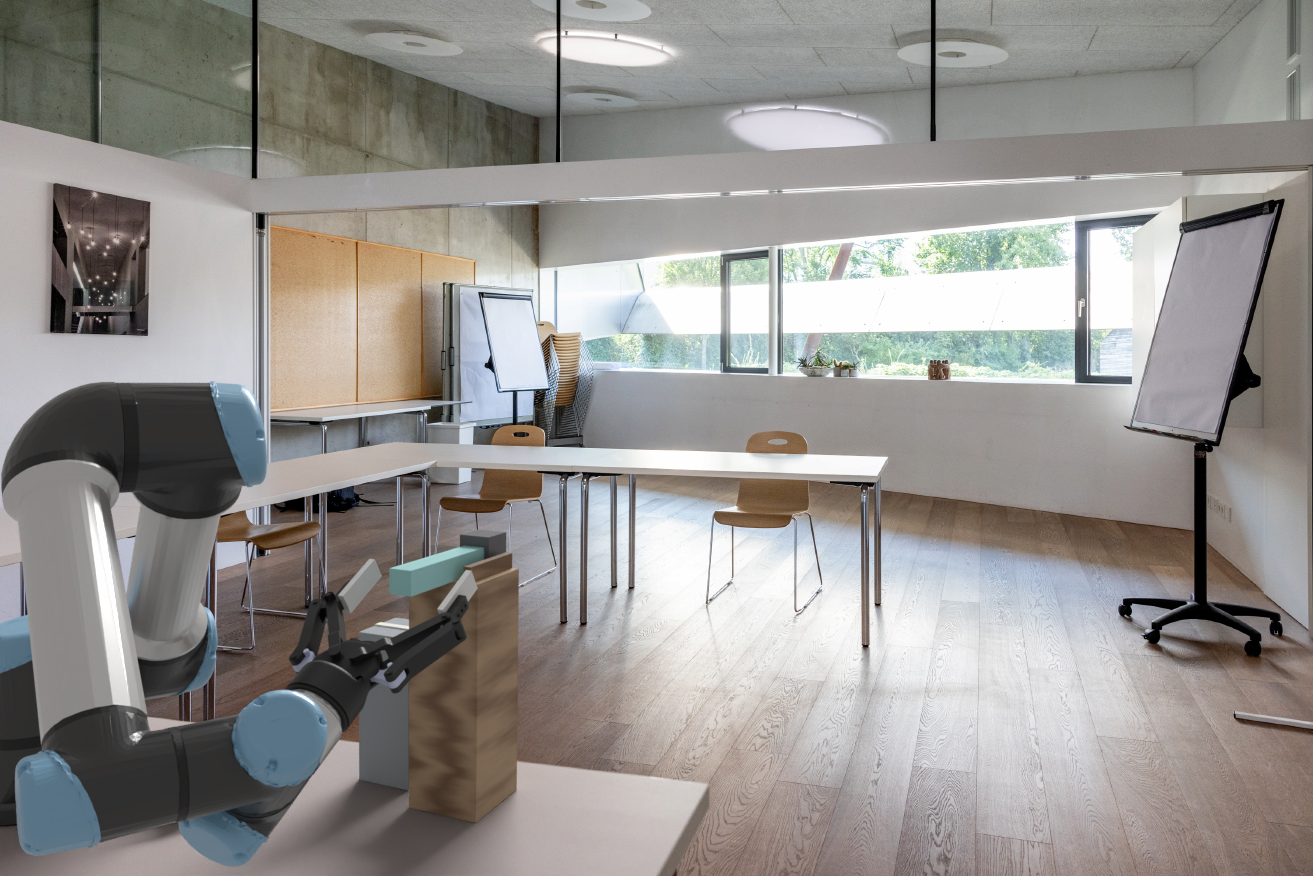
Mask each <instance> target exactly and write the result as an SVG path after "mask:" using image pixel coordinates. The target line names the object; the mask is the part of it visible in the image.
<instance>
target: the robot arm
mask: <svg viewBox="0 0 1313 876" xmlns="http://www.w3.org/2000/svg"><path fill="white" fill-rule="evenodd" d="M266 440H267V439H266V434H265V426H264V421H263V417H262V412H261V409H260V406H259V403H258V400H257V397H256V396H255V393H253V390H252V389H250V388H249V387H247V386H245V385H242V384H239V383H225V382H223V383H222V382H216V381H215V380H214V381H213V380H212V381H209V382H115V381H101V382H89V383H87V384H82V385H81V384H80V385H79V386H76V387H74V388H70V389H68V390H65V391H63V392H61V393H59V394H58V395H56V396H54V397H52V398H51V399H50V400H48V401H47V402H46V403H44V404H43V405H42V406H40V407H39V408H38V409H37V410H36V411H35V412H34V413H33V414H32V415H31V416H30V417H29V418H28V419H26V421H25V422H24V423H23V425H22V426H21V427H20V429H19V430H18V432H17V433H16V434H15V436H14V438H13V440H12V442H11V443H10V444H9V447H8V449H7V452H6V455H5V456H4V457H5V458H4V461H3V463H2V468H1V473H0V476H1V477H0V479H1V481H0V485H1V489H0V490H1V497H2V498H1V500H2V505H3V509H4V510H5V512H6V514H7V515H8V516H9V517H10V518H11V519H13V520H14V521H16V522H17V526H18V527H17V528H18V535H19V544H20V554H21V564H22V574H23V583H24V584H23V585H24V591H25V603H26V611H27V612H26V613H27V614H25V615H21V616H18V617H15V618H11V619H8V620H6V621H3V622H1V623H0V826H9V825H16V829H17V834H18V842H19V845H20V846H19V847H20V848H21V849H22V851H24V853H26V854H27V855H29V856H30V855H31V856H34V857H35V856H37V857H38V856H45V855H51V854H57V853H62V852H68V851H74V850H78V849H79V850H80V849H85V848H93V847H97V846H98V845H99V844H100V843H104V842H107V841H111V840H112V841H113V840H114V839H119V838H123V837H126V836H129V835H130V836H131V835H133V834H137V833H141V832H143V831H144V832H145V831H148V830H152V829H156V828H159V827H164V826H166V825H172V824H177V823H178V830H179V833H180V834H181V836H182V837H183V839H184V840H185V841H186V842H187V844H188V845H189V846H190V847H191V848H192V849H194V850H195V851H196V852H197V853H199V855H201V856H203V857H205V858H207V859H208V860H209V861H212V862H213V863H216V864H219V865H221V866H224V867H231V868H237V867H241V866H243V865H246V864H247V863H248V862H249V861H251V859H252V858H253V857H254V855H255V854H256V853H257V852H258V851H259V849H260V848H261V847H262V845H264V843H267V842H268V839H269V838H270V835H271V834H272V832H273V831H274V830H275V829H276V827H277V825H278V824H279V823H280V822H281V820H282V818H283V817H284V816H285V815H286V814H287V812H288V811H289V809H290V808H291V806H292V805H293V804H294V802H295V801H296V799H297V798H298V796H299V795H300V794H301V793H302V791H303V790H304V788H305V787H306V786H307V784H308V783H309V781H310V779H311V778H312V776H314V775H315V773H316V772H317V770H318V769H319V768H320V767H321V765H322V764H323V762H324V761H325V760H326V758H327V757H328V756H329V754H330V753H331V752H332V750H333V749H334V748H335V746H336V745H337V743H338V742H339V741H340V740H341V737H342V735H343V733H344V732H346V731H347V730H348V729H349V728H350V726H351V725H352V724H353V722H354V721H355V719H356V718H357V717H358V716H359V713H360V711H361V710H362V709H363V707H364V705H365V702H366V698H367V695H368V693H369V691H370V690H371V689H372V688H374V687H375V686H376V685H378V684H383V685H386V686H389V688H390V690H391V692H392V693H398V692H400V691H401V690H402V689H403V688H404V687H405V685H406V684H407V683H408V682H409V681H410V680H411V678H413V677H414V676H416V675H417V674H418V673H420V672H421V671H423V670H424V669H425V668H427V667H428V666H430V665H431V664H432V663H434V662H435V661H437V660H438V659H439V658H441V657H442V656H443V655H445V654H446V653H448V652H449V651H450V650H452V649H453V648H455V647H456V646H457V645H459V644H460V643H462V642H463V641H464V640H465V639H466V638H467V635H466V632H465V629H464V627H463V624H462V622H461V618H462V617H463V615H464V614H465V613H466V611H467V610H468V608H469V603H468V601H469V600H470V598H471V597H472V596H473V594H474V593H475V591H476V590H477V589H478V587H477V585H476V582H475V579H474V576H473V573H472V571H470V570H466V571H465V572H464V573H463V575H462V576H461V577H460V579H459V580H458V581H457V583H456V584H455V586H454V587H453V588H452V590H451V591H450V592H449V594H448V595H447V596H446V598H445V599H444V601H443V602H442V603H441V605H440V606H439V607H438V609H437V610H438V613H439V615H437V616H435V617H433V618H431V619H429V620H427V621H425V622H423V623H421V624H419V625H417V626H415V627H413V628H411V629H409V630H407V631H405V632H403V633H401V634H399V635H397V636H395V637H392V638H390V639H388V638H382V639H380V640H378V641H376V642H374V641H360V640H359V638H355V637H350V638H349V639H347V633H346V625H345V623H346V622H345V617H344V612H345V613H347V614H352V613H353V612H354V610H355V609H356V608H357V607H358V605H360V603H361V602H362V601H363V600H364V598H366V596H367V595H368V594H369V593H370V591H371V590H372V589H373V587H374V586H375V585H376V584H377V583H378V581H379V580H380V579H381V578H382V577H383V576H382V572H381V571H380V568H379V565H378V563H377V562H376V561H377V560H376V559H374V558H369V559H368V560H367V561H366V562H365V564H363V566H361V568H360V569H359V571H357V573H356V574H355V575H354V576H353V577H352V579H351V580H348V581H347V582H345V583H344V584H343V585H342V586H341V588H340V589H339V590H337V592H336V593H334V592H333V591H327V592H326V593H324V594H323V599H324V600H321V598H315V599H312V600H311V601H310V603H309V606H308V609H307V613H306V616H305V618H304V622H303V627H302V629H301V633H300V637H299V640H298V643H297V646H296V647H295V649H294V650H293V651H292V652H291V654H290V655H289V657H288V661H289V663H290V665H291V667H292V669H293V670H294V672H295V676H294V677H293V678H292V679H291V680H290V682H289V683H288V684H287V685H286V687H285V689H277V690H276V689H275V690H271V691H268V692H265V693H262V694H261V695H259V697H256V698H254V699H253V700H252V701H251V702H250V703H248V704H247V705H246V707H244V708H242V709H241V711H240V712H239V713H238V714H233V715H228V716H223V717H218V718H212V719H208V720H203V721H198V722H197V721H196V722H192V723H187V724H183V725H178V726H170V727H166V728H163V729H157V730H151V729H150V725H149V720H148V710H147V705H146V700H152V699H158V698H164V697H176V696H180V695H183V694H184V693H188V692H193V691H197V690H199V689H201V688H203V687H204V686H205V685H206V684H208V682H209V680H210V679H211V678H212V675H213V672H214V671H215V667H216V662H217V653H216V652H217V650H218V646H219V645H218V642H219V641H218V640H219V639H218V629H217V624H216V621H215V620H216V619H215V617H214V615H213V613H212V611H211V610H210V609H209V608H208V607H206V606H204V605H203V604H202V603H201V600H202V596H203V592H204V589H205V584H206V578H207V577H208V576H207V574H208V570H209V567H210V561H211V559H212V555H213V554H212V553H213V549H214V544H215V540H216V536H217V532H218V528H219V524H220V519H221V515H222V514H224V513H226V512H227V511H228V510H230V509H232V507H233V506H234V505H235V504H236V503H237V501H238V499H239V498H240V495H241V492H242V488H243V487H247V488H252V487H253V486H258V485H261V484H262V483H264V481H265V479H266V476H267V470H268V468H267V467H268V455H267V454H268V452H267V451H268V450H267V441H266ZM123 493H126V494H127V493H131V494H132V495H133V498H135V500H136V501H137V502H138V503H139V504H140V506H139V513H138V519H137V525H136V532H135V537H134V543H133V550H132V557H131V563H130V570H129V576H128V582H127V586H126V587H127V588H125V580H124V575H123V570H122V565H121V559H120V554H119V552H120V551H119V547H118V542H117V541H118V540H117V537H116V530H115V526H114V524H115V523H114V518H113V514H112V508H114V507H115V505H116V503H117V501H118V499H119V498H120V497H119V496H120V494H123ZM343 611H344V612H343ZM326 624H327V630H328V631H327V632H328V634H327V641H328V642H327V643H328V649H327V650H324V651H323V652H321V653H319V652H320V651H319V650H320V646H321V642H322V640H323V635H324V631H325V627H326ZM441 625H442V626H443V627H441V628H440V626H441ZM382 650H385V651H386V653H387V655H388V659H387V660H385V661H383V657H382V654H381V652H380V651H382Z"/></svg>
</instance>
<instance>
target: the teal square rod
mask: <svg viewBox="0 0 1313 876" xmlns="http://www.w3.org/2000/svg"><path fill="white" fill-rule="evenodd" d="M505 552H507V532H506V531H499V530H487V529H474V530H472V531H471V530H470V531H468V532H465V533H464V532H463V533H460V534H459V546H458V547H456V548H455V547H454V548H452V549H449V550H445V551H442V552H439V553H435V554H433V555H428V556H425V557H423V558H419V559H416V560H413V561H408V562H406V563H403V564H398V565H396V566H393V567H390V568H389V581H388V582H389V584H388V585H389V594H388V595H395V596H396V595H397V596H402V597H403V596H404V597H408V598H409V597H412V596H415V595H417V594H420V593H423V592H426V591H428V590H431V589H434V588H437V587H440V586H442V585H445V584H448V583H451V582H453V581H456V580H459V579H460V577H461V576H462V575H463V573H464V566H467V565H470V564H473V563H476V562H479V561H482V560H485V559H488V558H491V557H494V556H496V555H499V554H502V553H505Z"/></svg>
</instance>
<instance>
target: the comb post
mask: <svg viewBox="0 0 1313 876" xmlns="http://www.w3.org/2000/svg"><path fill="white" fill-rule="evenodd" d="M466 570H470V571H472V573H473V576H474V579H475V582H476V585H477V587H478V589H477V590H476V591H475V593H474V594H473V596H472V597H471V598H470V600H469V601H468V603H469V608H468V610H467V611H466V613H465V614H464V615H463V617H462V618H461V622H462V624H463V627H464V629H465V632H466V635H467V638H466V639H465V640H464V641H463V642H462V643H460V644H459V645H457V646H456V647H455V648H453V649H452V650H450V651H449V652H448V653H446V654H445V655H443V656H442V657H441V658H439V659H438V660H437V661H435V662H434V663H432V664H431V665H430V666H428V667H427V668H425V669H424V670H423V671H421V672H420V673H418V674H417V675H416V676H414V677H413V678H411V680H410V681H409V790H408V808H409V809H413V810H417V811H422V812H427V813H431V814H434V815H435V814H436V815H439V816H440V815H441V816H443V817H449V818H454V819H458V820H462V821H467V822H471V823H478V822H479V821H480V820H481V819H483V818H484V817H486V815H487V814H489V813H490V812H492V811H493V810H494V809H495V808H497V806H498V805H500V804H501V803H502V802H504V801H505V800H506V799H507V798H508V797H510V796H511V795H512V794H513V793H515V792H516V791H517V789H518V787H517V785H518V784H517V783H518V782H517V781H518V779H517V778H518V703H519V702H518V699H519V698H518V697H519V696H518V692H519V691H518V684H519V681H518V680H519V666H518V665H519V600H520V599H519V597H520V596H519V594H520V593H519V589H520V588H519V585H520V584H519V583H520V581H519V580H520V579H519V578H520V569H519V568H516V567H513V552H507V551H506V552H505V553H502V554H499V555H496V556H494V557H491V558H488V559H485V560H482V561H479V562H476V563H473V564H470V565H467V566H464V572H465V571H466ZM457 581H458V580H456V581H453V582H451V583H448V584H445V585H442V586H440V587H437V588H434V589H431V590H428V591H426V592H423V593H420V594H417V595H415V596H412V597H409V596H408V619H409V629H411V628H413V627H415V626H417V625H419V624H421V623H423V622H425V621H427V620H429V619H431V618H433V617H435V616H437V615H439V613H438V610H437V609H438V607H439V606H440V605H441V603H442V602H443V601H444V599H445V598H446V596H447V595H448V594H449V592H450V591H451V590H452V588H453V587H454V586H455V584H456V583H457ZM441 627H443V626H442V625H441V626H440V628H441Z"/></svg>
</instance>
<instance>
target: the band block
mask: <svg viewBox="0 0 1313 876" xmlns="http://www.w3.org/2000/svg"><path fill="white" fill-rule="evenodd" d="M407 630H409V618H402V617H393V618H392V619H388V620H386V621H384V622H383V621H380V622H377V623H375V624H374V625H373V626H371V627H367V628H365V629H363V630H361V631H358V640H360V641H374V642H376V641H378V640H380V639H382V638H388V639H390V638H392V637H395V636H397V635H399V634H401V633H403V632H405V631H407ZM380 652H381V654H382V657H383V661H385V660H387V659H388V655H387V653H386V651H385V650H382V651H380ZM358 771H359V772H358V777H359V778H358V780H359V781H364V782H367V783H368V782H369V783H373V784H377V785H381V786H385V787H386V786H387V787H391V788H396V789H400V790H405V791H409V682H408V683H407V684H406V685H405V687H404V688H403V689H402V690H401V691H400V692H398V693H392V692H391V690H390V688H389V686H386V685H383V684H378V685H376V686H375V687H374V688H372V689H371V690H370V691H369V693H368V695H367V698H366V702H365V705H364V707H363V709H362V710H361V711H360V713H359V714H358Z"/></svg>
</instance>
